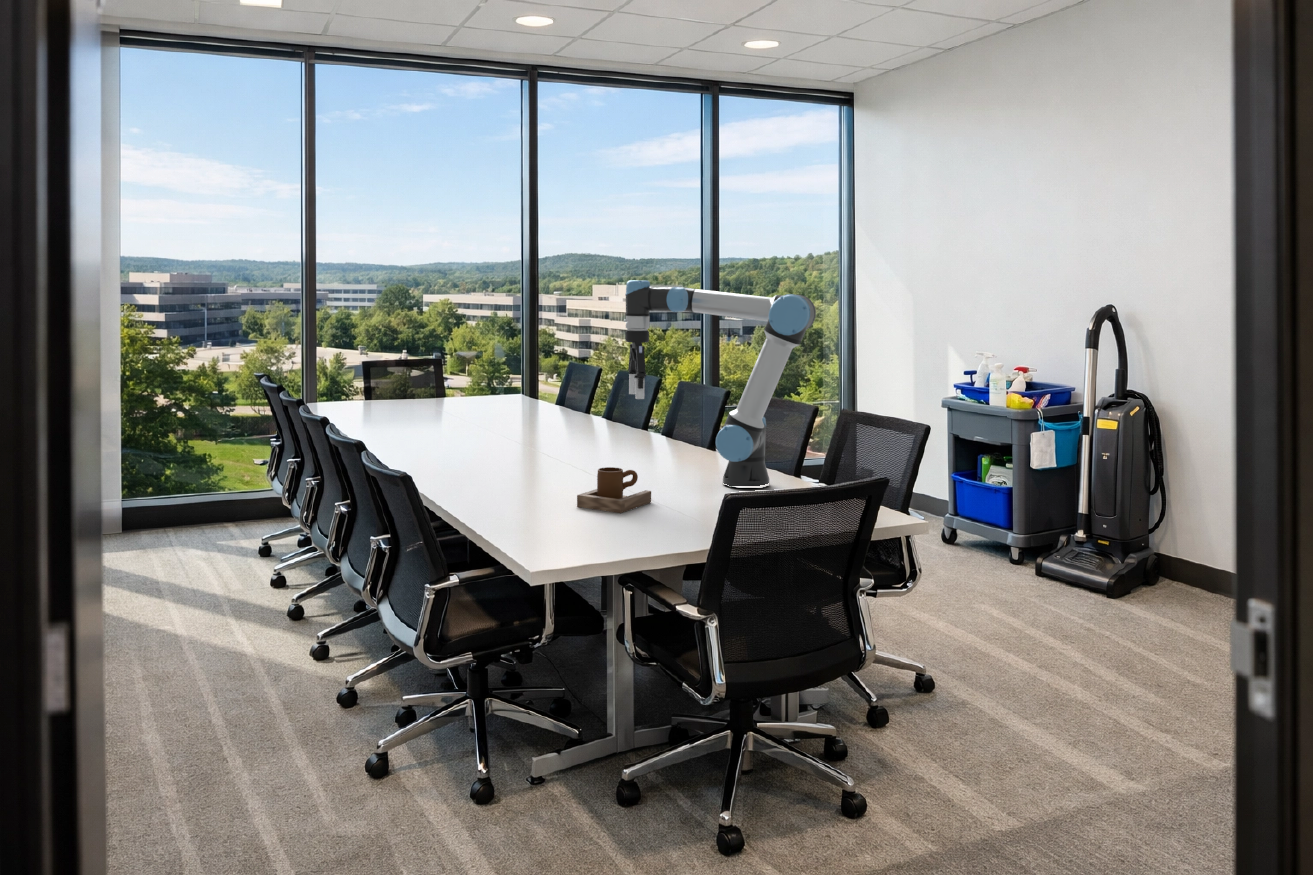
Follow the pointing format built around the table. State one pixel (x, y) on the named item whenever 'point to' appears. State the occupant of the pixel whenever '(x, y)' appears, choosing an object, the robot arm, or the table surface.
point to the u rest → (613, 501)
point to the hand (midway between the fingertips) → (636, 396)
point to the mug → (613, 482)
